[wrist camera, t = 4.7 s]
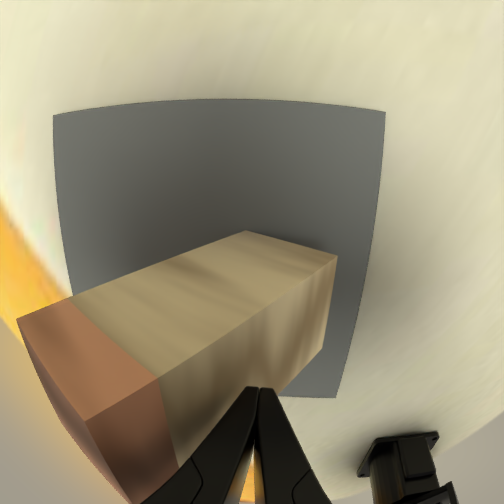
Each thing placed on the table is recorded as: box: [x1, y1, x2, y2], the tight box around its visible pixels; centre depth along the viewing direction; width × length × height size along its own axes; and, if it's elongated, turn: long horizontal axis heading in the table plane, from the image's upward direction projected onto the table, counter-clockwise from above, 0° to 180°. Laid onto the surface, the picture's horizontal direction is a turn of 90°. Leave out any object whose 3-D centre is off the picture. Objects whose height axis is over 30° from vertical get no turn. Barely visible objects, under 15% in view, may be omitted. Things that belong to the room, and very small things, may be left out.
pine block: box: [16, 230, 338, 504], centre depth 12 cm, size 5×5×12 cm
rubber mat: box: [53, 99, 386, 398], centre depth 18 cm, size 18×18×1 cm
